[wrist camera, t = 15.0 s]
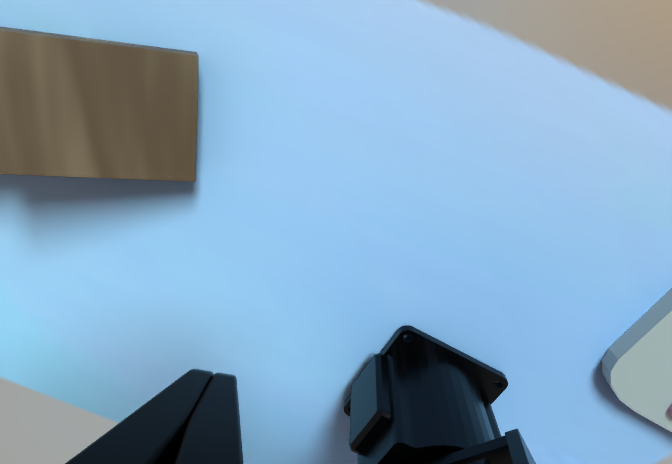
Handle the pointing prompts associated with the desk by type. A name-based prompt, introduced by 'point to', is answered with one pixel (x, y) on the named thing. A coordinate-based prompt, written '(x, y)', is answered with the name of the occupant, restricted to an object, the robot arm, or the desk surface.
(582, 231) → the desk surface
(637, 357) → the handheld gaming console
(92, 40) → the domino
